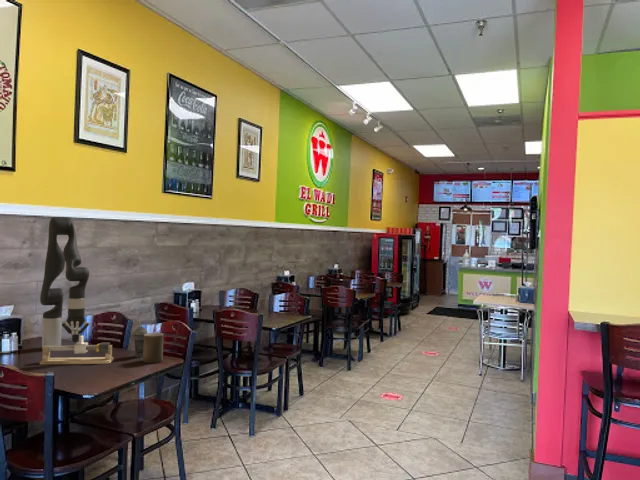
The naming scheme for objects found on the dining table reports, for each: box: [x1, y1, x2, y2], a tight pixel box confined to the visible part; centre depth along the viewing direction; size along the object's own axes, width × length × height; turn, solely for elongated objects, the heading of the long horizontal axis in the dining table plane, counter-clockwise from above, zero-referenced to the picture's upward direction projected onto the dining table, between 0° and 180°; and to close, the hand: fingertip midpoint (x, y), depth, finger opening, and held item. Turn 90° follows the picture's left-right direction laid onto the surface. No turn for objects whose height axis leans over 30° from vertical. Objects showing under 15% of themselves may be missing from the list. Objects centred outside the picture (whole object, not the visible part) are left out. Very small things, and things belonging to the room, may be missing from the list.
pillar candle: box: [142, 332, 164, 364], centre depth 249 cm, size 10×10×15 cm
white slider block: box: [73, 334, 89, 355], centre depth 243 cm, size 5×5×8 cm
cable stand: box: [39, 341, 114, 365], centre depth 243 cm, size 8×32×9 cm, turn 101°
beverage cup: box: [133, 318, 148, 358], centre depth 258 cm, size 7×7×20 cm
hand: (75, 341), depth 242 cm, fingers closed
